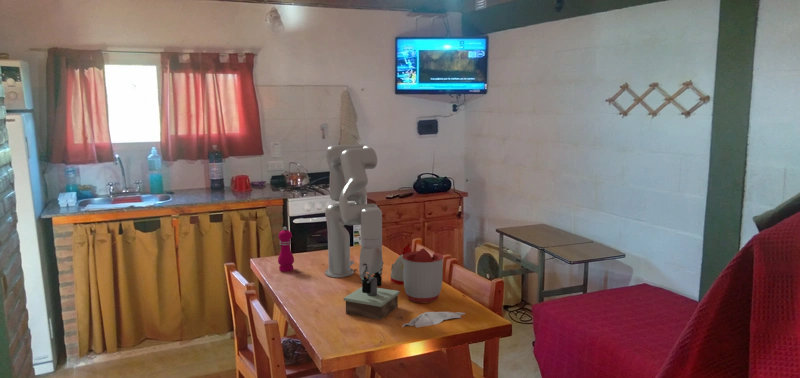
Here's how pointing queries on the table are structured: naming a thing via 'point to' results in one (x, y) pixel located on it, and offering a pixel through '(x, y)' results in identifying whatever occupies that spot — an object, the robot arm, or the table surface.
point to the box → (371, 309)
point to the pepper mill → (285, 251)
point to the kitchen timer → (399, 268)
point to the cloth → (432, 318)
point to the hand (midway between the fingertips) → (372, 289)
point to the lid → (372, 295)
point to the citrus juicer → (422, 275)
